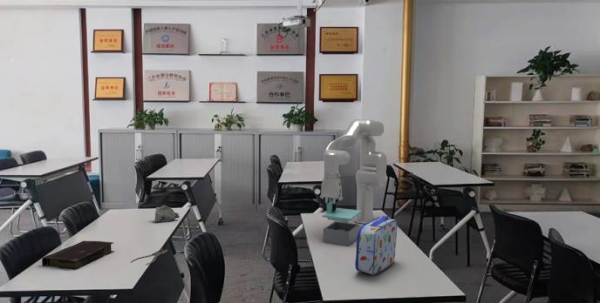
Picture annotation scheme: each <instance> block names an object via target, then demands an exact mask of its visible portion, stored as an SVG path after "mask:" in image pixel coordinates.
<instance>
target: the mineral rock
mask: <svg viewBox="0 0 600 303" xmlns="http://www.w3.org/2000/svg"><path fill="white" fill-rule="evenodd" d="M154 213H155V214H154V223H157V222H159V223H164V222H166V221H167V222H171V221H174V220H176V219H179V218H180V215H179V213H178V212H175V211H174V209H173V208H172V207H169V206H167V205H165V204H164V205H162V206H157V207H156V206H155V211H154ZM157 224H158V223H157Z"/></svg>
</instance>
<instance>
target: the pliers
mask: <svg viewBox="0 0 600 303" xmlns="http://www.w3.org/2000/svg"><path fill="white" fill-rule="evenodd" d="M166 252H168V249H166V250H164V249H163V248H161V249H159V250H157V251H155V252H153V253H152V254H149V255H144V256H141V257H137V258H135V259H133V260H131V261H130V263H133V262H136V261H137V260H141V259H145V258H149V257H153V256H154V257H153V259H152V260H151V261H150V262H148V263H146V264H145V265H146V266H147V265H150V264H152V263H153V262H155V261H156V259H157V258H158V256H161V255H163V254H166Z"/></svg>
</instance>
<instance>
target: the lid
mask: <svg viewBox="0 0 600 303" xmlns="http://www.w3.org/2000/svg"><path fill="white" fill-rule="evenodd" d="M332 204H333V200H329V202H328V203H327V209H326V212H325V213H324V214H322V218H326V219H327V220H329V221H334V220H335V221H343V222H349V221H353V220H354V218H357V216H358V215H359V214H360V213H362V211H359V210H357V209H351V208H350V209H348V208H341V207H336V210H335V211H334V212H333V211H332Z"/></svg>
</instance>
